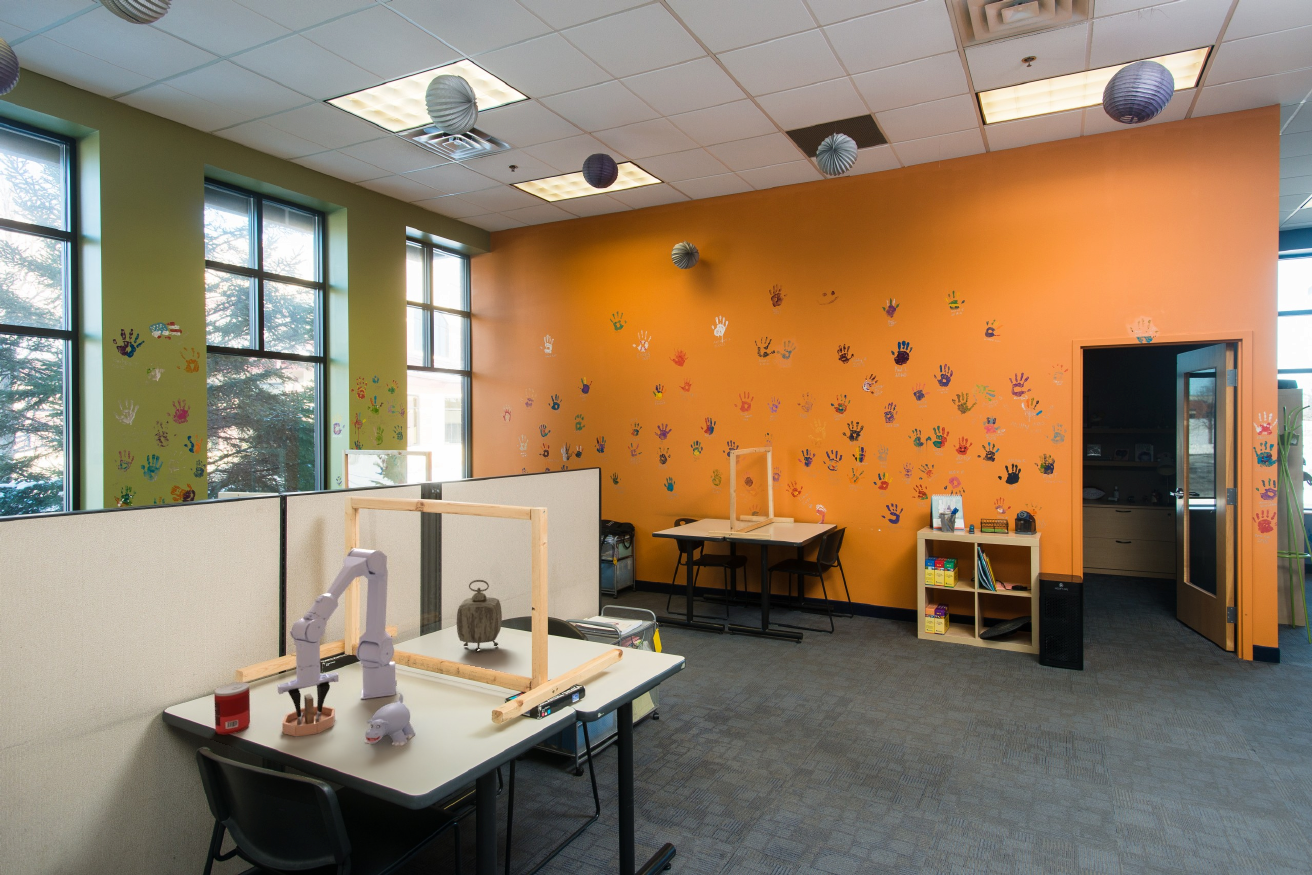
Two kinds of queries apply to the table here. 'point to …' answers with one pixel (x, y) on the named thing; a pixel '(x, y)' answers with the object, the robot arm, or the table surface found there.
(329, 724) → the dish
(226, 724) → the canned food
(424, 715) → the table surface
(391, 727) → the hippopotamus toy
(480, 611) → the tabletop clock
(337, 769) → the table surface
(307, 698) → the brown rectangular block
